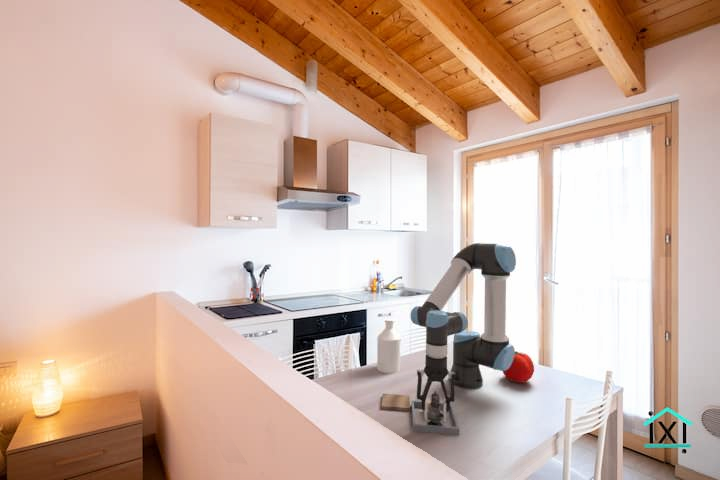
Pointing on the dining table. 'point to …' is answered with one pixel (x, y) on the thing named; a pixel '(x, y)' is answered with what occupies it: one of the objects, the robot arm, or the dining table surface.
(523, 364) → the tomato
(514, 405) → the dining table surface
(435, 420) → the dark grey chess piece
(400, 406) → the light brown wooden board
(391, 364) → the bottle
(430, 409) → the beech block
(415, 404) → the tray
